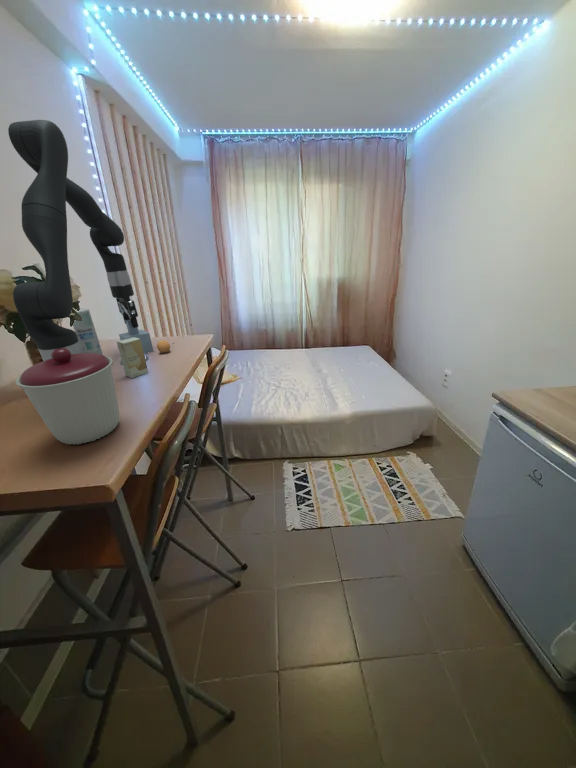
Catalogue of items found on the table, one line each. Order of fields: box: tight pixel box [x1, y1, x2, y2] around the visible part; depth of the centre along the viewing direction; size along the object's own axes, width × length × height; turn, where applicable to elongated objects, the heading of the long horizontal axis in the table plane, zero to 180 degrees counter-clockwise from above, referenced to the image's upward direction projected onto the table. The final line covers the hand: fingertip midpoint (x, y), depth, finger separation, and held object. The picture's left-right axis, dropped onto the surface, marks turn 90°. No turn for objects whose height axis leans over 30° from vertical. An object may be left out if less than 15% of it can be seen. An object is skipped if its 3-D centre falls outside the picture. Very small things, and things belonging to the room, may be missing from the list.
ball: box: [156, 339, 171, 354], centre depth 127 cm, size 5×5×5 cm
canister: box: [14, 348, 120, 445], centre depth 72 cm, size 18×18×21 cm
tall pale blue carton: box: [72, 308, 104, 355], centre depth 118 cm, size 6×6×20 cm
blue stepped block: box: [118, 320, 155, 354], centre depth 128 cm, size 9×9×13 cm
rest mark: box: [120, 355, 149, 366], centre depth 121 cm, size 10×10×1 cm
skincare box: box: [116, 337, 149, 379], centre depth 106 cm, size 6×4×12 cm
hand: (131, 325), depth 126 cm, fingers open, 8 cm apart
